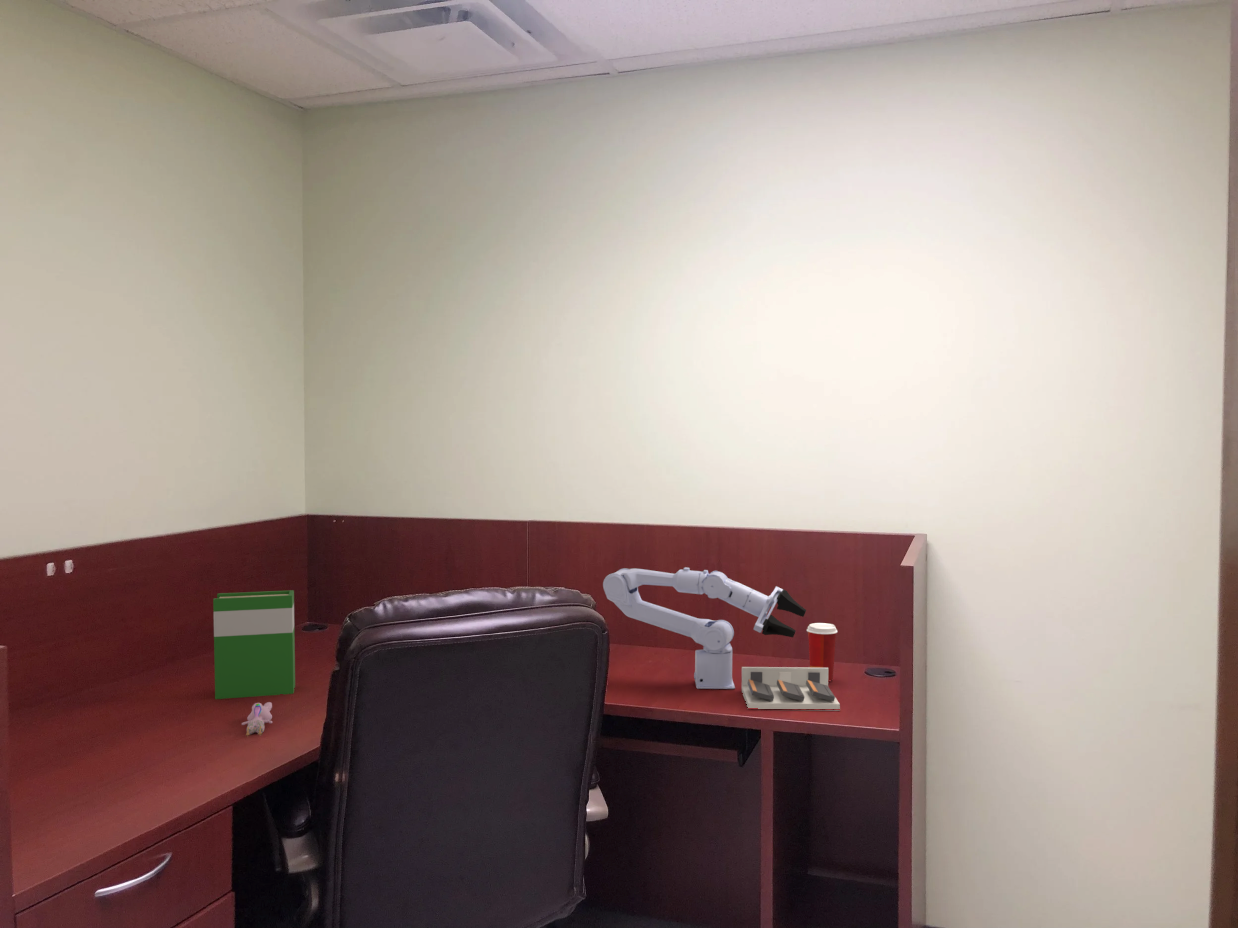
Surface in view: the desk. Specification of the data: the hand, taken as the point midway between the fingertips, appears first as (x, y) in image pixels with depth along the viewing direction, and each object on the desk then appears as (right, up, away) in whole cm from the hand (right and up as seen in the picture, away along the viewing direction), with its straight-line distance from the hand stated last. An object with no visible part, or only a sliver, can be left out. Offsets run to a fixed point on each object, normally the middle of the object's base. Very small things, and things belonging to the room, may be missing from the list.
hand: (799, 623), depth 235 cm
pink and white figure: (-122, -18, -25) cm, 126 cm away
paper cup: (+8, -17, +13) cm, 22 cm away
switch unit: (-4, -17, -6) cm, 19 cm away
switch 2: (-4, -14, -7) cm, 17 cm away
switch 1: (-11, -14, -7) cm, 19 cm away
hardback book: (-133, -17, 0) cm, 134 cm away
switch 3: (+3, -15, -7) cm, 17 cm away
